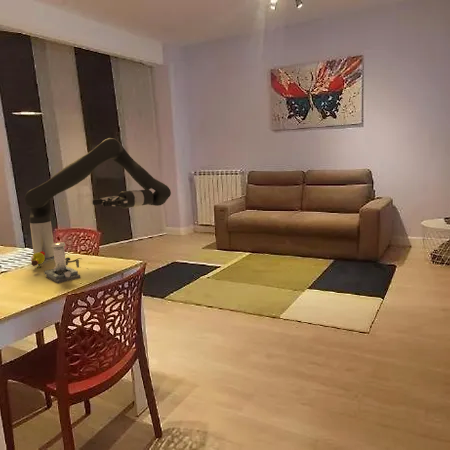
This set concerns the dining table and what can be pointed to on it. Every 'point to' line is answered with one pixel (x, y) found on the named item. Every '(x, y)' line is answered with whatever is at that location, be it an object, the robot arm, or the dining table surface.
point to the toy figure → (38, 259)
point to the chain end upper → (57, 276)
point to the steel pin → (59, 257)
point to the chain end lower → (66, 278)
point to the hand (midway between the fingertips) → (97, 203)
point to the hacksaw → (73, 261)
